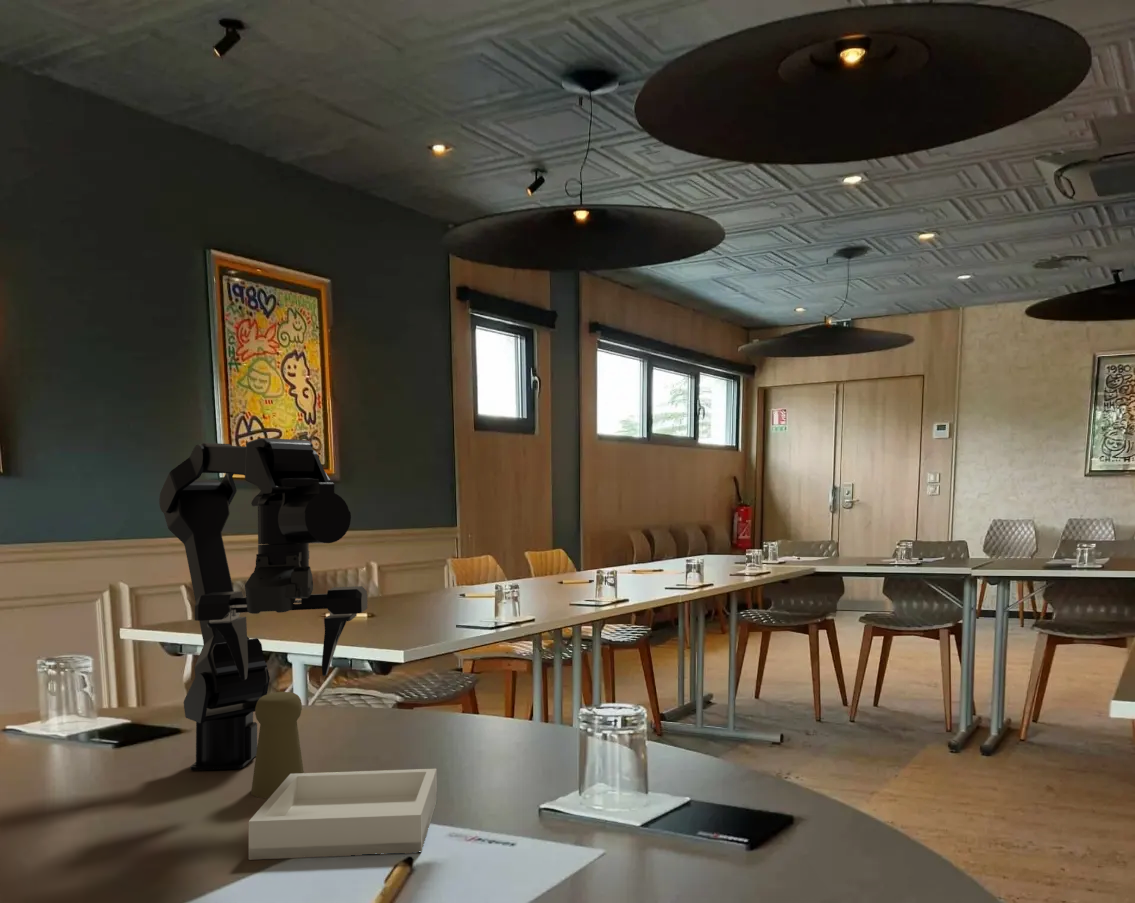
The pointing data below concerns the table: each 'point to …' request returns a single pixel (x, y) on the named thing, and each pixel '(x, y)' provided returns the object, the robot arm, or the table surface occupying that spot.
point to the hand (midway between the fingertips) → (284, 677)
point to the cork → (276, 742)
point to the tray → (345, 814)
